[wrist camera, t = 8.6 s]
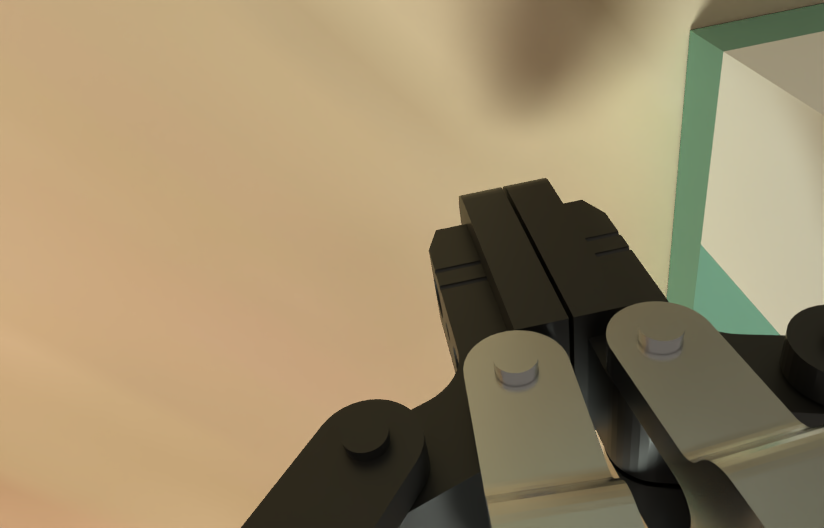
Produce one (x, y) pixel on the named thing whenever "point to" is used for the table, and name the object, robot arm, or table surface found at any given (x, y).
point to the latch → (770, 176)
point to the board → (689, 262)
